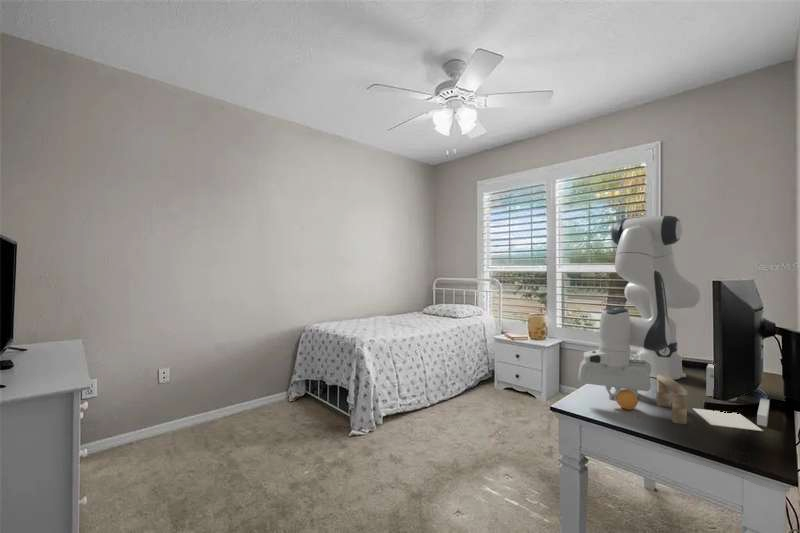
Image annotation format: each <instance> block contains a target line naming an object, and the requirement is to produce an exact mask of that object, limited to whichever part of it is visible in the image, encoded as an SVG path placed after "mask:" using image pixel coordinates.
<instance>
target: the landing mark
mask: <svg viewBox="0 0 800 533" xmlns="http://www.w3.org/2000/svg"><path fill="white" fill-rule="evenodd" d="M692 410H693V411H694V412H695V413H697V414H698V415H699V417H701V418H702V419H704V420H705V421H706V422H707V423H708V424H709V425H711V426H714V427H715V426H716V427H722V428H723V427H724V428H730V429H731V428H732V429H733V428H734V429H738V430H739V429H741V430H749V431H750V430H751V431H759V432H764V430H763V429H762V428H760V427H759V425H757V424H755V423H753V422H752V421H751V420H750V419H748V418H746V417H745V416H744V415H742V414H741V413H739V414H737V413H738V412H732V413H727V412H728V411H723V412H720V411H721V410H714V411H713V410H712V409H703V408H694V407H692ZM724 412H726V413H724Z"/></svg>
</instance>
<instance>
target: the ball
mask: <svg viewBox="0 0 800 533" xmlns="http://www.w3.org/2000/svg"><path fill="white" fill-rule="evenodd" d="M638 401H639V400H638V396H636V395H635V394H634V393H633V392H632V391H630V390H621V391H620V393H619V394H618V395H617V398H616V401H615V402H616V403H617V405H619V407H621V408H622V409H624V410H633V409H635V408H637V406H638V403H639V402H638Z"/></svg>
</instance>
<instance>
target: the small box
mask: <svg viewBox="0 0 800 533" xmlns="http://www.w3.org/2000/svg"><path fill="white" fill-rule="evenodd" d="M713 364H714V363H708V364H707V366H706V379H705V380H706V383H705V384H706V388H705V389H706V390H705V392H706V394H705V395H706V396H705V397H708V396H713V389H714V365H715V364H714V365H713Z"/></svg>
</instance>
